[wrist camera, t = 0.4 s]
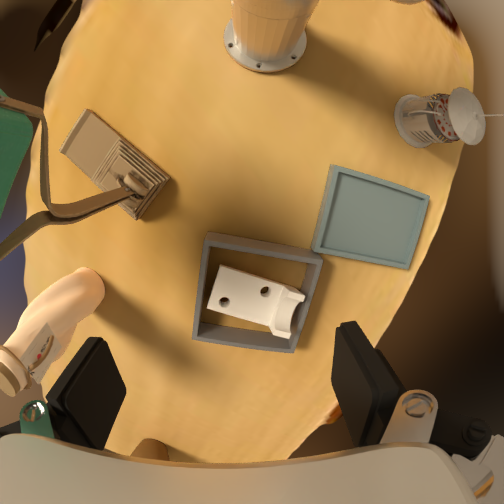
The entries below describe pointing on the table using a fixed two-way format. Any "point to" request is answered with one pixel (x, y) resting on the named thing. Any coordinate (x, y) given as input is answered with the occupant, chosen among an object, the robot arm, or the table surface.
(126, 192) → the banker's lamp
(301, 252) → the bin
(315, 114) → the table surface
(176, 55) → the table surface
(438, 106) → the french press
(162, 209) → the table surface
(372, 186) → the tray
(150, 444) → the plant pot
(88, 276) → the water bottle
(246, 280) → the bracket
